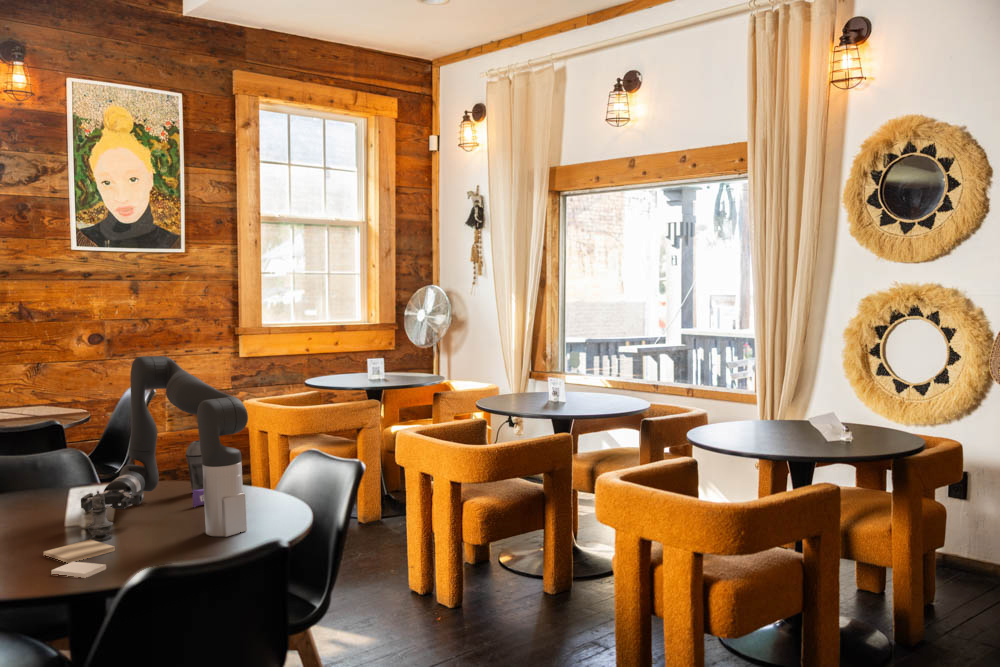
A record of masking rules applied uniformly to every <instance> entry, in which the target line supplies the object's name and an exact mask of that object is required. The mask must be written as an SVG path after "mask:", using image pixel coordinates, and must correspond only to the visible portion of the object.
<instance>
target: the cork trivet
mask: <svg viewBox="0 0 1000 667" xmlns="http://www.w3.org/2000/svg"><path fill="white" fill-rule="evenodd" d="M115 551H116V549H115V546H114V545H110V544H107V543H104V542H97V541H94V540H89V539H87V540H82V541H79V542H76V543H75V542H74V543H70V544H67V545H63V546H60V547H55V548H52V549H47V550H44V551H43V556H44V555H46V556H49V557H52V558H55V559H58V560H61V561H63V562H62V563H64V562H66V563H65V564H67V563H71V562H75V561H77V562H80V561H83V559H84V560H88V559H90V558H95V557H98V556H102V555H105V554H108V553H113V552H115ZM49 557H48V558H49ZM52 558H51V559H52ZM87 558H88V559H87ZM55 559H54V560H55ZM58 560H57V561H58ZM79 560H80V561H79ZM61 561H60V562H61Z"/></svg>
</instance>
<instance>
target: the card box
mask: <svg viewBox="0 0 1000 667" xmlns="http://www.w3.org/2000/svg"><path fill="white" fill-rule="evenodd" d="M106 570H107V564H102V563H94V562H81V561H77V562H71V563H68V564H67V563H65V564H64V565H61V566H58V567H56V568H54V569H51V575H52V574H59V575H67V576H66V577H68V576H74V577H73V578H78V577H81V579H87V578H89V577H91V576H94V575H96V574H98V573H100V572H103V571H106ZM86 577H87V578H86Z"/></svg>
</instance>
